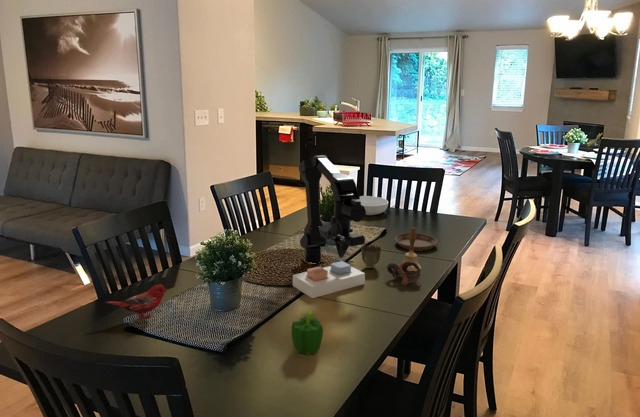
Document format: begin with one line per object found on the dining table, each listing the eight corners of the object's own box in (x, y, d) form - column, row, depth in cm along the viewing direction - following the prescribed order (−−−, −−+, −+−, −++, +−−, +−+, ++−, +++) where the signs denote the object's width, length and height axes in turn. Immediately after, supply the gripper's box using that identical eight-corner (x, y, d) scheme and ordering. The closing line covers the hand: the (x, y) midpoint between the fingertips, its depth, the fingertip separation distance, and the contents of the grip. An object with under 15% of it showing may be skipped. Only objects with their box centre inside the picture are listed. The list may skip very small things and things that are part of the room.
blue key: (330, 271, 179) (330, 263, 178) (342, 268, 182) (342, 261, 181) (339, 276, 175) (339, 268, 174) (350, 273, 178) (351, 265, 177)
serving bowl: (346, 217, 263) (346, 204, 261) (350, 207, 283) (351, 195, 281) (386, 219, 259) (387, 206, 258) (388, 209, 279) (389, 197, 278)
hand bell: (423, 266, 196) (426, 226, 192) (417, 273, 189) (420, 232, 185) (402, 262, 200) (405, 223, 196) (396, 269, 192) (398, 228, 188)
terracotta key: (306, 277, 174) (307, 269, 173) (319, 274, 176) (319, 266, 176) (315, 282, 170) (315, 274, 169) (327, 279, 172) (327, 271, 172)
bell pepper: (308, 362, 129) (308, 326, 126) (285, 350, 134) (285, 315, 132) (329, 349, 135) (330, 315, 133) (307, 338, 140) (307, 305, 138)
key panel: (292, 285, 175) (292, 274, 174) (343, 273, 188) (343, 262, 187) (312, 298, 166) (312, 286, 165) (364, 284, 178) (364, 273, 177)
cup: (379, 272, 189) (380, 251, 187) (359, 270, 191) (360, 250, 189) (380, 265, 196) (381, 245, 194) (361, 263, 198) (362, 243, 196)
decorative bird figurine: (169, 316, 151) (167, 285, 149) (105, 323, 146) (102, 291, 144) (169, 312, 154) (167, 281, 151) (106, 319, 149) (103, 287, 146)
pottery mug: (417, 277, 187) (424, 262, 181) (413, 296, 180) (420, 282, 174) (386, 266, 188) (391, 252, 182) (380, 285, 181) (386, 271, 176)
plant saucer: (425, 255, 208) (425, 248, 208) (387, 246, 219) (387, 239, 218) (443, 245, 222) (443, 238, 221) (406, 237, 232) (407, 230, 232)
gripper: (307, 211, 176) (306, 253, 180) (340, 224, 161) (338, 270, 165) (333, 207, 182) (332, 248, 186) (367, 219, 168) (365, 264, 172)
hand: (340, 257), depth 177 cm, fingers closed
